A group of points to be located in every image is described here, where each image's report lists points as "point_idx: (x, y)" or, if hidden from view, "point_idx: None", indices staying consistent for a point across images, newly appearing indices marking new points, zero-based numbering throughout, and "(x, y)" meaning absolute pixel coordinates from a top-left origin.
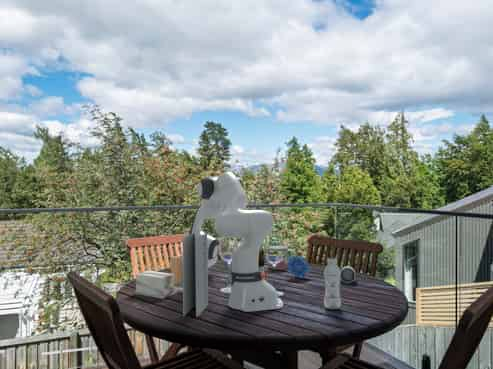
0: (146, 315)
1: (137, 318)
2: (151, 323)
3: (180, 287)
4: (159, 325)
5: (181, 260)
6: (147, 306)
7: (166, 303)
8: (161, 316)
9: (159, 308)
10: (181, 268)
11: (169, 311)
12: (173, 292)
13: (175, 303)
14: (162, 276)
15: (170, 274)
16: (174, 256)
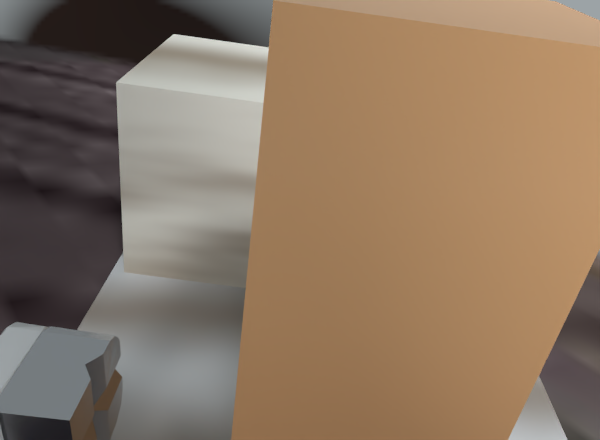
0: (113, 76)
1: (134, 65)
2: (50, 49)
3: (122, 410)
4: (9, 43)
5: (259, 161)
6: None
7: (86, 151)
8: (35, 73)
9: (92, 113)
10: (238, 394)
11: (14, 97)
12: (122, 253)
13: (18, 155)
14: (199, 48)
15: (157, 74)
16: (593, 27)
